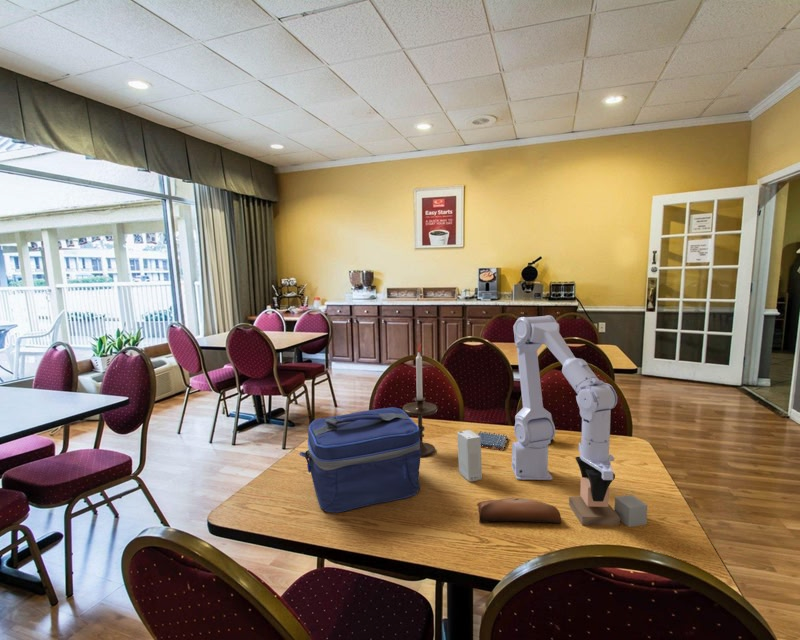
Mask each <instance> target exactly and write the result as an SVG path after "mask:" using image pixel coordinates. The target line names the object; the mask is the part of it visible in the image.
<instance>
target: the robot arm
mask: <svg viewBox="0 0 800 640" xmlns="http://www.w3.org/2000/svg"><path fill="white" fill-rule="evenodd" d="M512 328H513V335H514V336H513V337H514V346H515V347H516V352H517V363H518V373H519V380H520V381H519V382H520V391H521V401H522V402H521V403H522V408H521V409H520V410H519V411H518V412H517V413H516V415H515V416H514V420H515V423H514V428H513V429H514V430H513V431H514V436H515V438H516V440H517V441H514V442H512V445H511V469H512V471H513V474H514V476H515V478H516V479H517V480H519V481H522V480H528V481H529V480H530V481H531V480H532V481H533V480H534V481H536V480H537V481H542V480H543V481H552V480H553V476H552V475H551V474H550V472H549V469H548V468H549V445H551V444H552V443H551V439H553V440H554V438H555V437H556V427H555V422H554V423H553V421H552V418H553V416H552V413H551V412H549V411H548V410H547V409H546V408H544V404H543V394H542V393H543V392H542V385H541V376H540V367H539V366H540V365H539V357H538V350H539V349H540V348H541V347H542V346H543V345H545V346H546V348H548V350H549V351H550V352H551V353H552V355H553V356H554V357H555V358H556V359H557V361H559V363H560V364H561V365H562V369H561V373H562V374H563V376H564V378H565V379H566V381H568V384H569V385H570V386H571V387H572V389H573V390H574V392H575V393H576V394H577V395H575V398H576V402H577V405H578V408H579V415H580V417H581V438H580V439H581V441H580V442H579V443H578V451H579V456H575V461H576V463H577V465H578V467H579V471H580V474H581V477H586V478H589V481H590V485H591V494H592V498H593V501H603V500H604V498H605V495H606V492H607V489H608V487H609V488H610V485H611V483H613V481H614V480H615V478H616V474H615V473H614V471H613V469H612V466H611V464H612V463H611V462H615V457H614V456H613V455H612V454H610V438H611V437H610V435H611V413H612V412H611V410H612V409H614V408H615V407H616V405H617V404H618V394H617V393H616V390H615V389H614V387H613V386H612V385H611V384H610V383H607V382H604V381H603V380H601V379H599V378H598V376H597V374H595V373H594V372H593V370H592V368H590V366H589V363H588V362H587V361H586V360H584V359H583V358H578V357H576V356H575V355H574V353H573V352H572V351H571V348H570V347H569V346H568V344H567V342H566V341H565V339H564V337H562V335H561V333H560V323H558V322H557V320H556V318H554V316H553V315H550V314H549V315H542V316H521V317H518V318H517V320H516V321H515V322H514V324H513V327H512ZM550 443H551V444H550Z"/></svg>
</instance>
